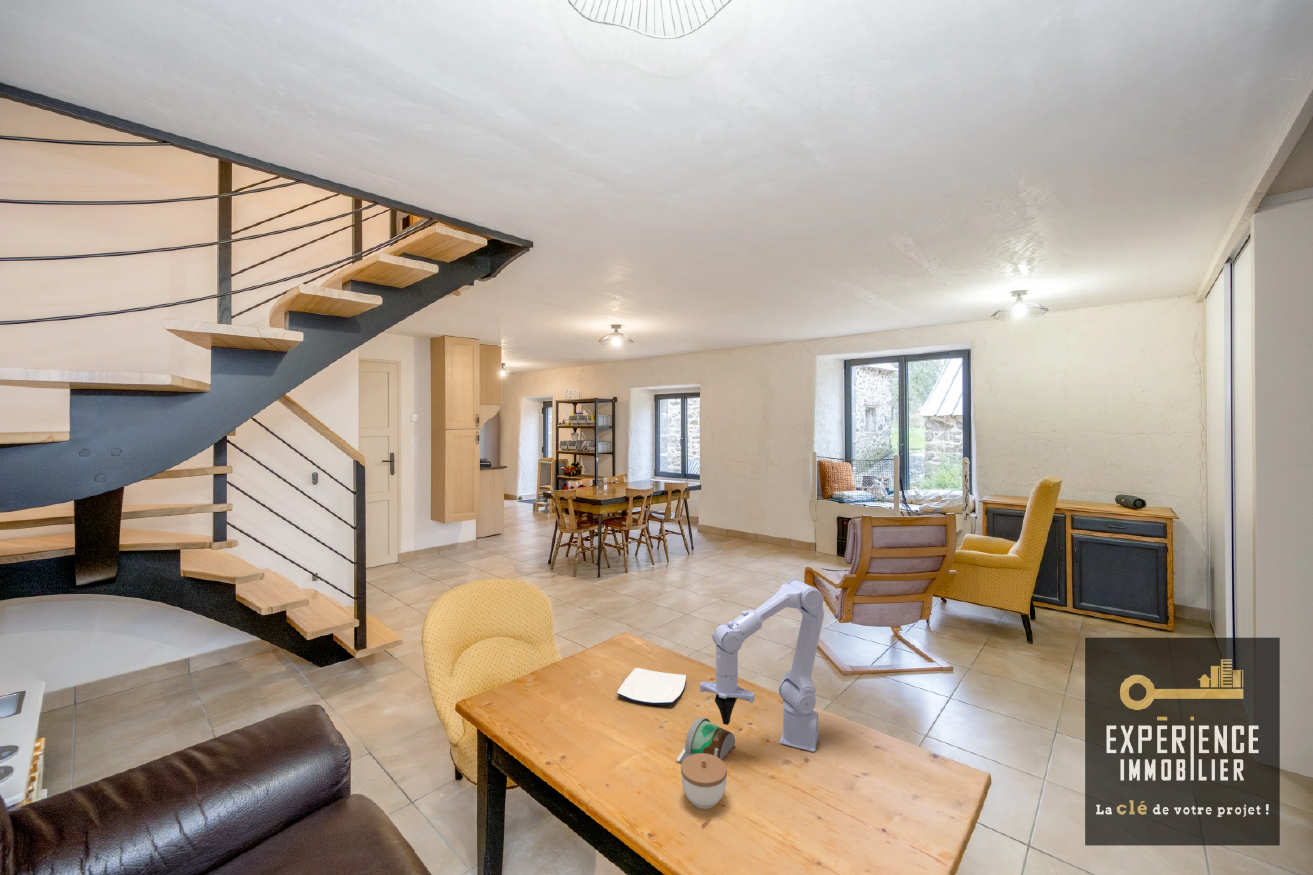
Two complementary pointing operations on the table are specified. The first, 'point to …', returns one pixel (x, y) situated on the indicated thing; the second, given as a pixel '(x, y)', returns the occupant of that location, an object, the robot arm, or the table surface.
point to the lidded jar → (703, 779)
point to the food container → (708, 739)
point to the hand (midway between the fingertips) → (726, 722)
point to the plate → (652, 687)
